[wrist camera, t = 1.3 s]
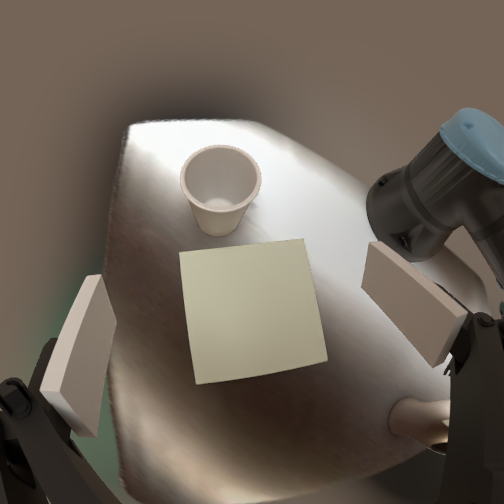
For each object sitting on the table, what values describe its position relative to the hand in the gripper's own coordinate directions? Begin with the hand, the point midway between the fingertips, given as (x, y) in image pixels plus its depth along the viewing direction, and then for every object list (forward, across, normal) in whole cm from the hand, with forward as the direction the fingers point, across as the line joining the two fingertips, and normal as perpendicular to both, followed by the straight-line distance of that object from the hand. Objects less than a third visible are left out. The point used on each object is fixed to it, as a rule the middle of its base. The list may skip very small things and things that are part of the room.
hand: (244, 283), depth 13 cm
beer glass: (+2, +23, -29) cm, 37 cm away
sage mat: (+16, +4, -14) cm, 22 cm away
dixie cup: (+25, +1, -6) cm, 26 cm away
